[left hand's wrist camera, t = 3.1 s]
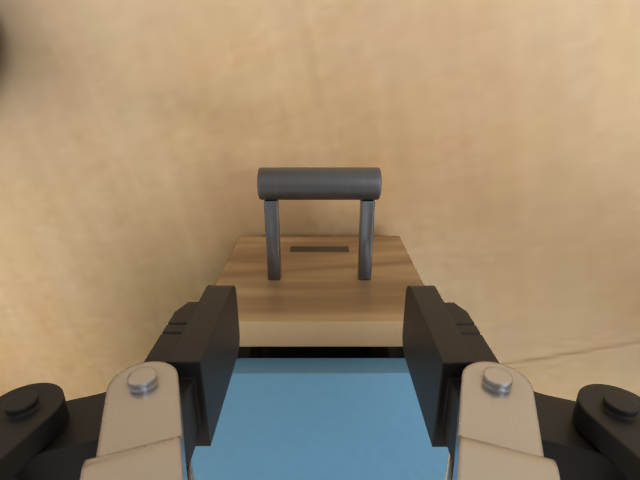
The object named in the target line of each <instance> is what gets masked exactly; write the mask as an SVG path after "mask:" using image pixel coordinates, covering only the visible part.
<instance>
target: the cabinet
mask: <svg viewBox="0 0 640 480" xmlns="http://www.w3.org/2000/svg"><path fill="white" fill-rule="evenodd" d="M448 456H449V450H448V447H432V445H431V441H430V438H429V435H428V432H427V428H426V425H425V422H424V418H423V415H422V412H421V409H420V405H419V402H418V399H417V395H416V392H415V389H414V386H413V382H412V379H411V376H410V373H409V369H408V366H407V363H406V359H405V358H237V359H236V363H235V366H234V369H233V373H232V376H231V379H230V383H229V386H228V390H227V393H226V396H225V400H224V403H223V406H222V410H221V413H220V416H219V420H218V423H217V426H216V430H215V433H214V437H213V440H212V443H211V446H196V447H195V450H194V453H193V455H192V458H191V463H192V470H193V477H194V480H445V477H446V470H447V463H448Z"/></svg>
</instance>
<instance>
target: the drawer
mask: <svg viewBox="0 0 640 480" xmlns="http://www.w3.org/2000/svg"><path fill="white" fill-rule="evenodd" d="M257 188H258V196H259V198H260V199H261V200H265V201H264V211H265V232H266V236H240V237H239V239H238V241H237V243H236V245H235V247H234V249H233V251H232V253H231V255H230V257H229V259H228V261H227V263H226V265H225V267H224V269H223V271H222V273H221V274H220V276H219V278H218V280H217V282H216V284H215V285H234V286H235V288H236V294H237V306H238V319H239V331H240V343H239V352H238V356H237V358H405V356H404V352H403V343H402V332H403V320H404V307H405V295H406V289H407V286H424V284H423V282H422V280H421V278H420V276H419V274H418V273H417V271H416V269H415V267H414V265H413V263H412V261H411V259H410V257H409V255H408V253H407V251H406V249H405V247H404V245H403V243H402V241H401V239H400V237H399V236H373V227H374V205H375V202H374V200H377V199H379V198H380V194H381V171H380V168H259V170H258V176H257ZM279 200H360V220H359V236H280V223H279Z"/></svg>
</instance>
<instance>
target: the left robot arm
mask: <svg viewBox="0 0 640 480" xmlns="http://www.w3.org/2000/svg"><path fill="white" fill-rule="evenodd" d="M239 343H240V331H239V319H238V306H237V294H236V288H235V286H234V285H208V286H207V288H206V289H205V291H204V293H203V295H202V297H201V299H200V300H199V302H188V303H187V304H186V305H184V306H183V307H181V308H180V309H179V310H177V311H176V312H175V313H174V315H173V316H172V318H171V320H170V321H169V323H168V325H167V326H166V328H165V329H164V331H163V334H162V335H161V336H160V337H159V339H158V340H157V342H156V344H155V345H154V347H153V349H152V350H151V352H150V353H149V355H148V357H147V358H146V360H145V361H144V363H141V364H137V365H134V366H131V367H129V368H127V369H125V370H123V371H122V372H120V373H119V374H118V375H116V376H115V377H114V378H113V379H112V381H111V382H110V383H109V385H108V388H107V392H104V393H101V394H97V395H93V396H88V397H83V398H79V399H74V400H69V401H66V400H65V396H64V393H63V390H62V389H61V388H60V387H59V386H57V385H55V384H51V383H37V384H31V385H26V386H23V387H20V388H17V389H15V390H12V391H10V392H8V393H6V394H4V395H2V396H1V397H0V480H193V478H192V468H191V458H192V455H193V453H194V450H195V447H196V446H211V443H212V440H213V437H214V433H215V430H216V426H217V423H218V420H219V416H220V413H221V410H222V406H223V403H224V400H225V396H226V393H227V390H228V386H229V383H230V379H231V376H232V373H233V369H234V366H235V363H236V359H237V356H238V352H239ZM402 343H403V352H404V356H405V359H406V363H407V366H408V369H409V373H410V376H411V379H412V382H413V386H414V389H415V392H416V395H417V399H418V402H419V405H420V409H421V412H422V415H423V418H424V422H425V425H426V428H427V432H428V435H429V438H430V441H431V445H432V447H448V450H449V453H450V461H449V468H448V478H447V480H640V397H639V396H637V395H635V394H633V393H631V392H629V391H626V390H624V389H621V388H618V387H614V386H610V385H603V384H592V385H587V386H585V387H583V388H581V389H580V390H579V393H578V396H577V400H576V402H575V401H571V400H566V399H561V398H557V397H552V396H547V395H544V394H540V393H537V392H534V391H533V388H532V385H531V383H530V382H529V381H528V379H527V378H526V377H525V376H524V375H522V374H521V373H520V372H518V371H517V370H515V369H513V368H511V367H509V366H506V365H503V364H499V362H498V360H497V359H496V357H495V356H494V354H493V352H492V351H491V349H490V348H489V346H488V345H487V343H486V341H485V340H484V338H483V337H482V335H480V332H479V330H478V329H477V327H476V326H474V322H473V321H472V319H471V318H470V316H469V314H468V313H467V312H466V311H465V310H463V309H462V308H460V307H459V306H458V305H456V304H455V303H444V302H443V300H442V298H441V296H440V295H439V293H438V291H437V289H436V287H435V286H407V289H406V295H405V307H404V320H403V332H402Z"/></svg>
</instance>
